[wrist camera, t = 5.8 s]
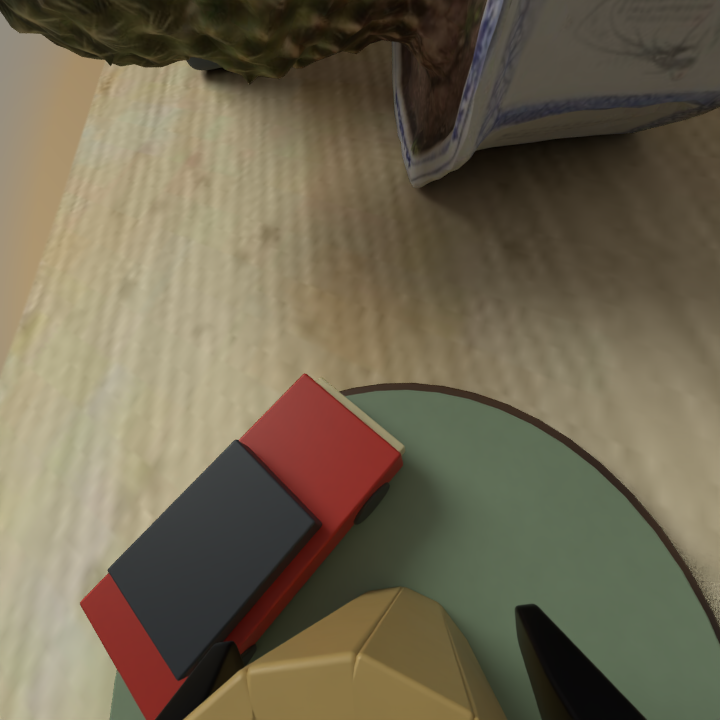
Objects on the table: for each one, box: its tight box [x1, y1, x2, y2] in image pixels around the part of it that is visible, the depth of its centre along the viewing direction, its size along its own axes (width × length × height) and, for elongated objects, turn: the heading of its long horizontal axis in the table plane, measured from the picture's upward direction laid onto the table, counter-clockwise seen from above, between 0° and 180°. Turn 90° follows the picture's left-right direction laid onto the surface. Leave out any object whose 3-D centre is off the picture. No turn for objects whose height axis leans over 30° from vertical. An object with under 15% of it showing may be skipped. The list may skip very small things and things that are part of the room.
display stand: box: [116, 383, 720, 674], centre depth 12 cm, size 18×18×1 cm
